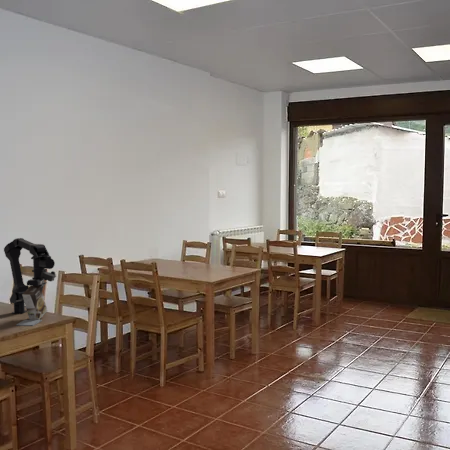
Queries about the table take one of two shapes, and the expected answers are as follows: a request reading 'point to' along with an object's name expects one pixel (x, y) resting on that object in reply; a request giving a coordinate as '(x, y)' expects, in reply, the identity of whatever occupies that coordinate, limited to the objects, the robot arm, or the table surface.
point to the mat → (28, 322)
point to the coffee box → (34, 302)
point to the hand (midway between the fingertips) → (39, 296)
